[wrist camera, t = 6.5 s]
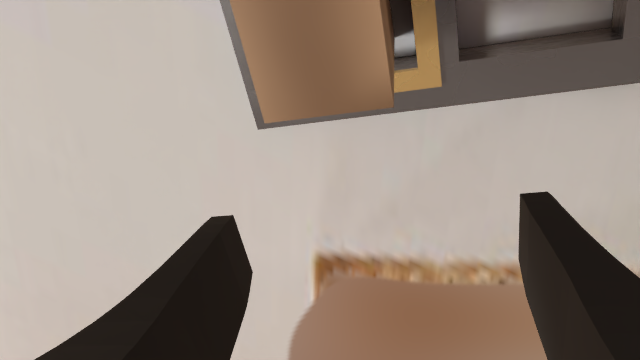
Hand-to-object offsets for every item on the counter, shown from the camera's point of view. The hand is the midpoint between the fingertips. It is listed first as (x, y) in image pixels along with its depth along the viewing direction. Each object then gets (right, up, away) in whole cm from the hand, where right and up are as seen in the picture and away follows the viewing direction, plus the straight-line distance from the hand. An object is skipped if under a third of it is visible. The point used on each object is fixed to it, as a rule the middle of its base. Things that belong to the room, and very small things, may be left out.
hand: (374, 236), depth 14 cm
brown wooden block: (-1, +8, +6) cm, 11 cm away
